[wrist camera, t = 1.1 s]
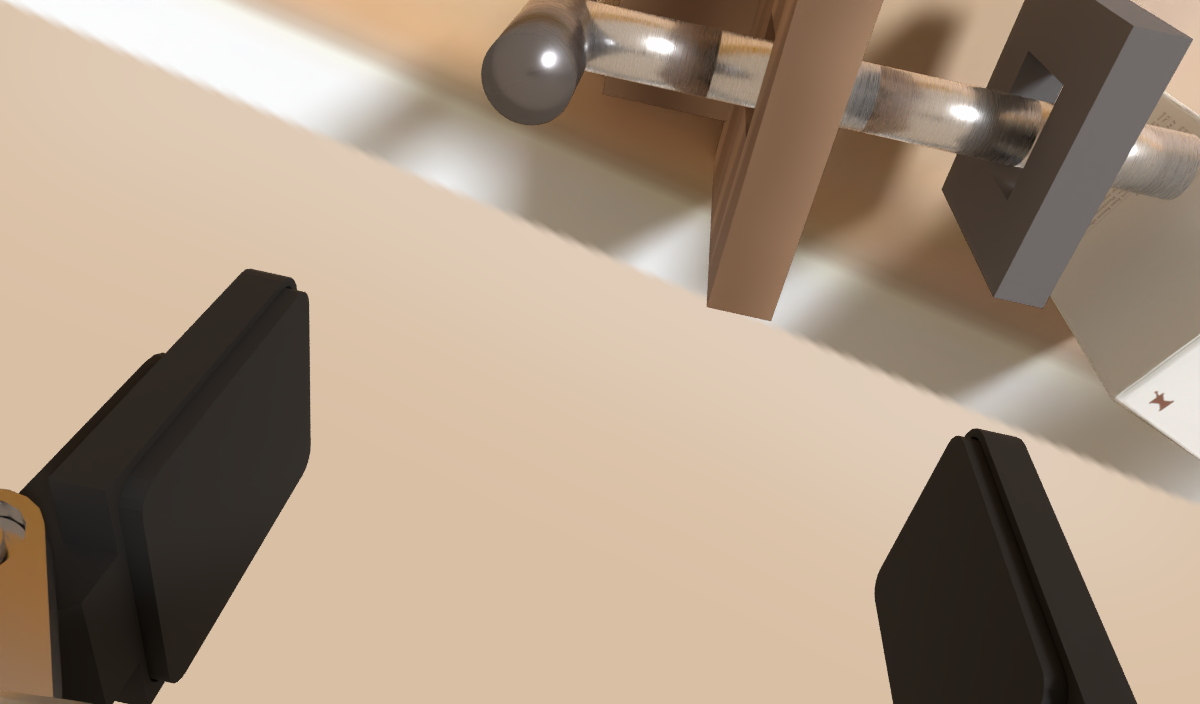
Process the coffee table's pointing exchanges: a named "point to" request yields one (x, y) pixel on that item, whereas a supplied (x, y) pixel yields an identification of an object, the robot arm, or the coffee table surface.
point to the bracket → (767, 132)
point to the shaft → (735, 74)
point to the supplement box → (1143, 297)
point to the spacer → (1062, 136)
